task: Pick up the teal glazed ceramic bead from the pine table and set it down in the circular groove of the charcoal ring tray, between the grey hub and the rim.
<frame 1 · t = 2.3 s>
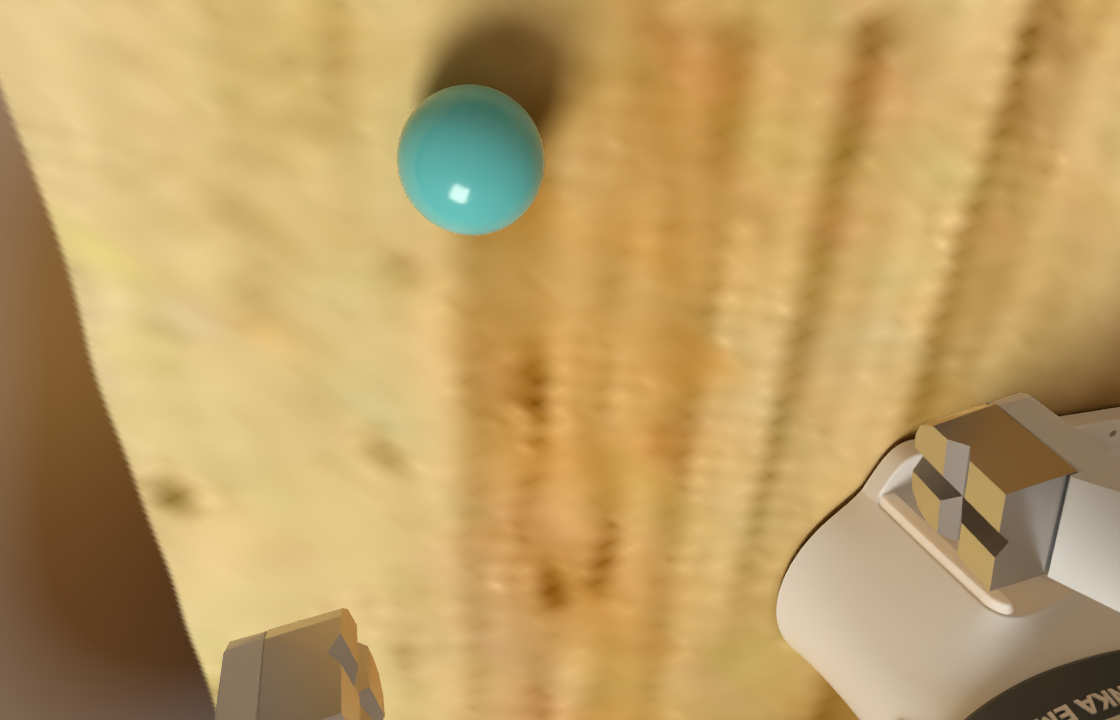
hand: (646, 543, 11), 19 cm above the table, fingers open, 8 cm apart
bead: (471, 161, 25), point 2 cm above the table
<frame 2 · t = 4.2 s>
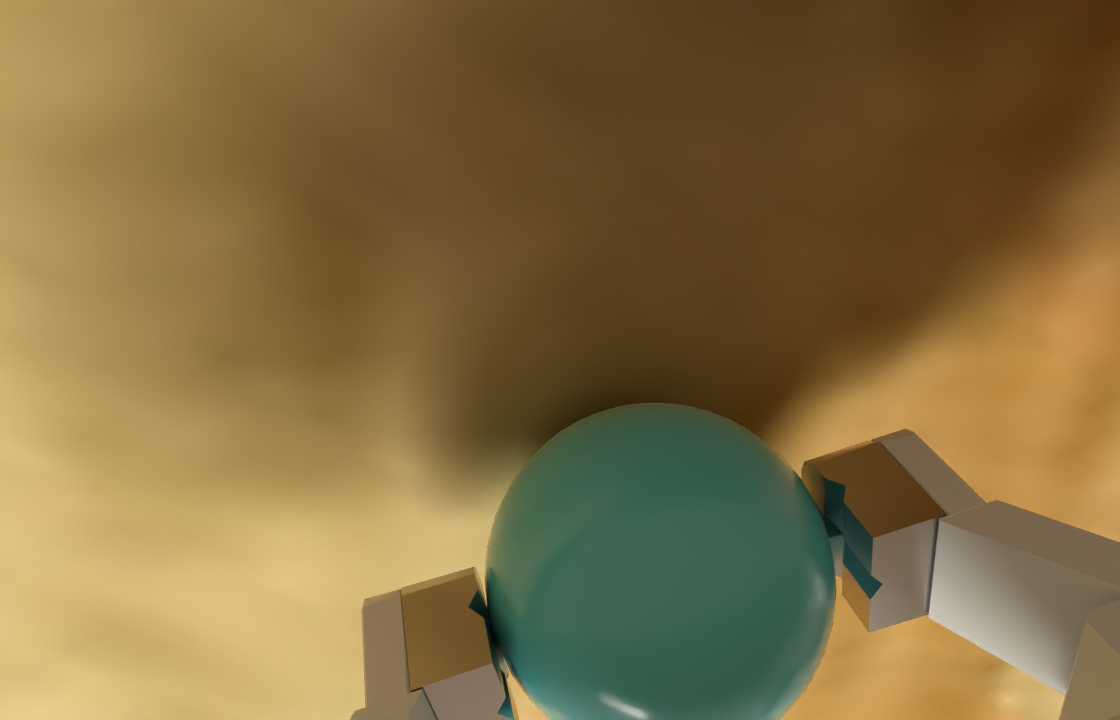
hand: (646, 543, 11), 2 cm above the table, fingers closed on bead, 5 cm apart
bead: (656, 573, 11), point 2 cm above the table, touching gripper
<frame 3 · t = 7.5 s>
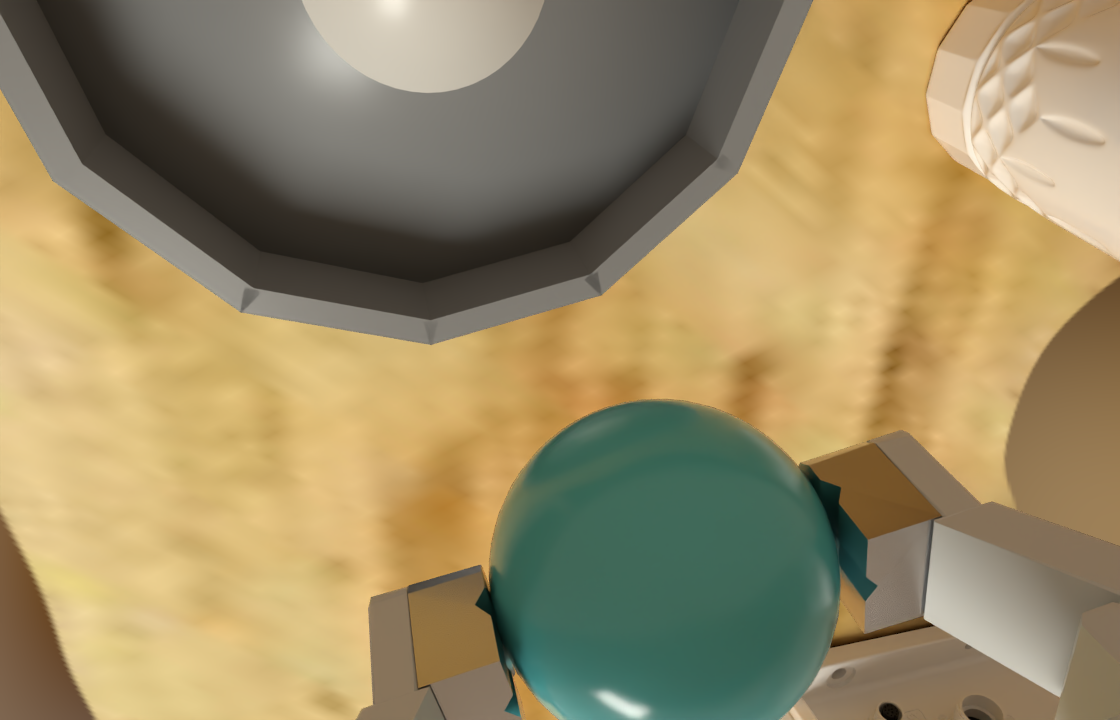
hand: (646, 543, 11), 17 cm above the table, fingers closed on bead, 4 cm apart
bead: (660, 569, 11), point 18 cm above the table, touching gripper
white cup: (1008, 68, 28), on the table
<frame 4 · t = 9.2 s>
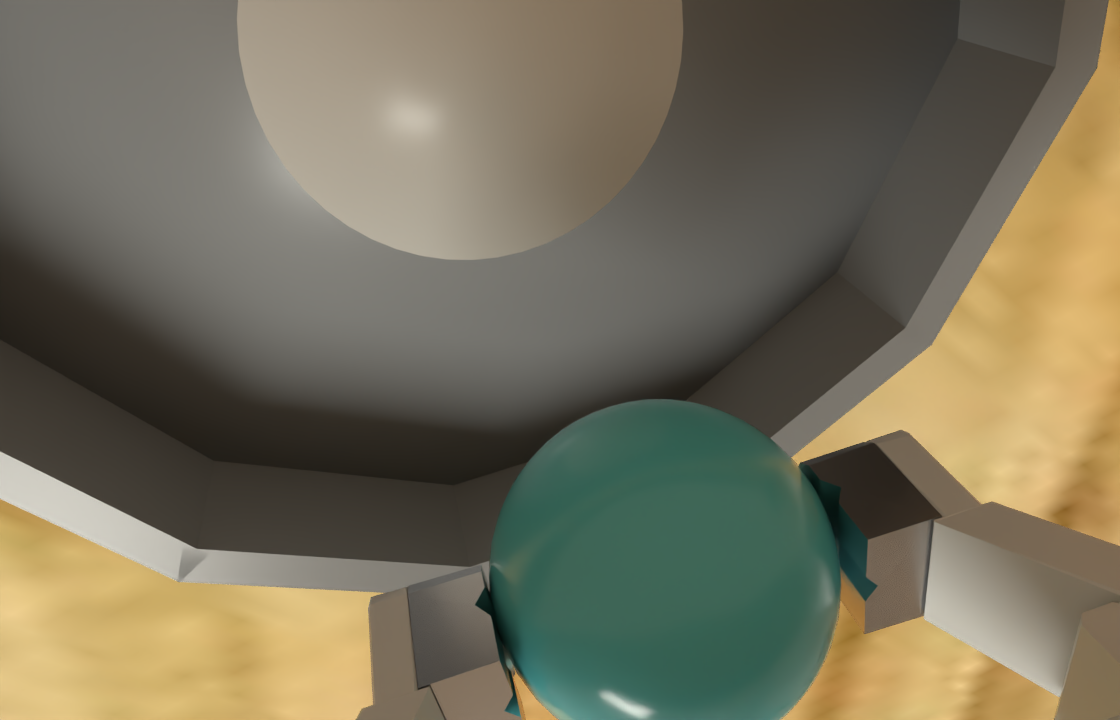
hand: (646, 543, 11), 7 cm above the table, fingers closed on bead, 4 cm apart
ring tray: (443, 14, 14), on the table
bead: (660, 569, 11), point 8 cm above the table, touching gripper
when the fingers open (4 cm above the table, at t = 10.7 s): bead drops 1 cm, resting on ring tray.
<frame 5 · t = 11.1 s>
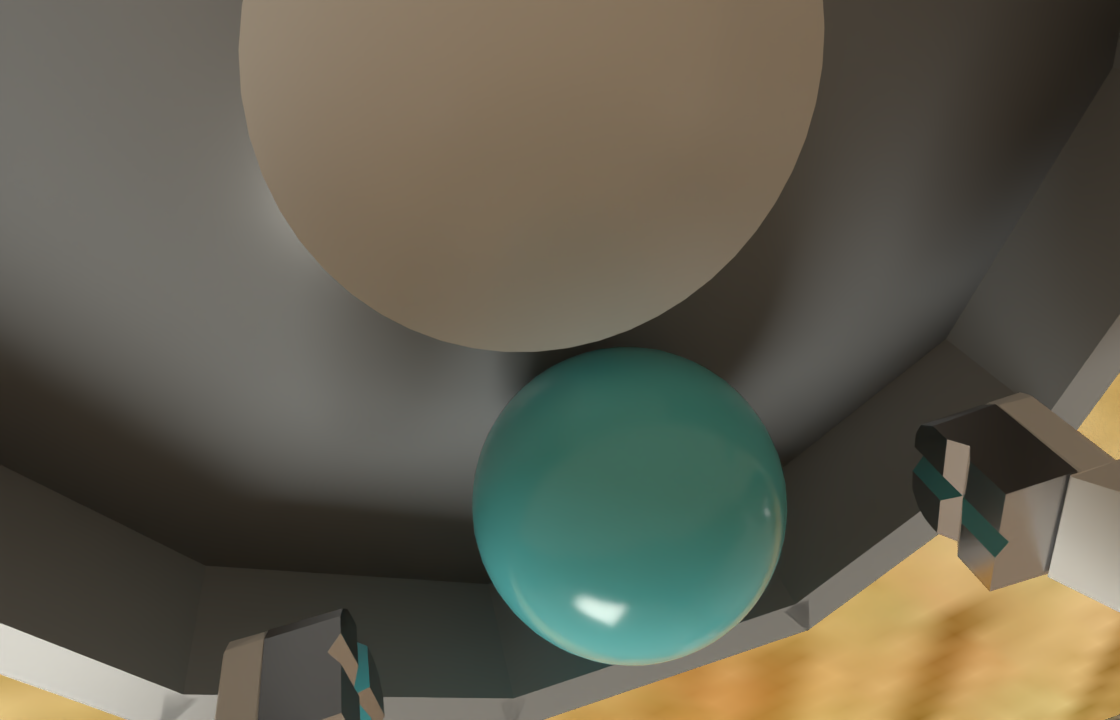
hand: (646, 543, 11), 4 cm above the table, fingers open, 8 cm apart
ring tray: (495, 35, 11), on the table
bead: (627, 500, 12), point 3 cm above the table, touching ring tray
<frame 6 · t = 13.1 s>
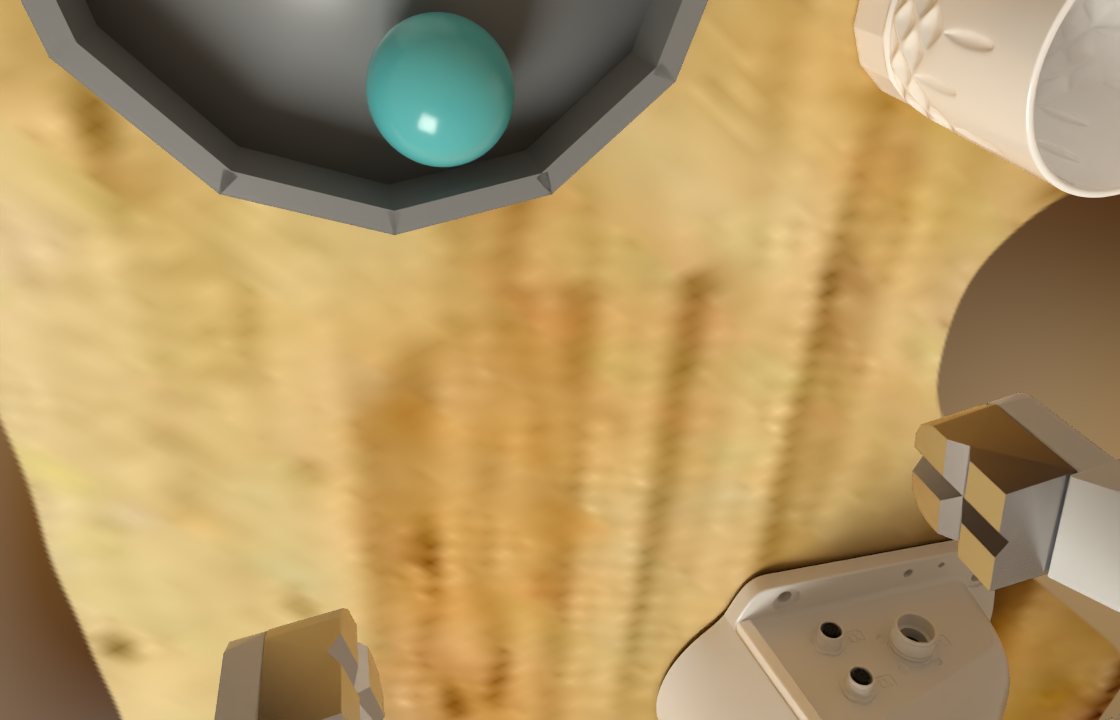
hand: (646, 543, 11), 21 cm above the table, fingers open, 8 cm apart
bead: (441, 91, 25), point 3 cm above the table, touching ring tray
white cup: (929, 5, 31), on the table
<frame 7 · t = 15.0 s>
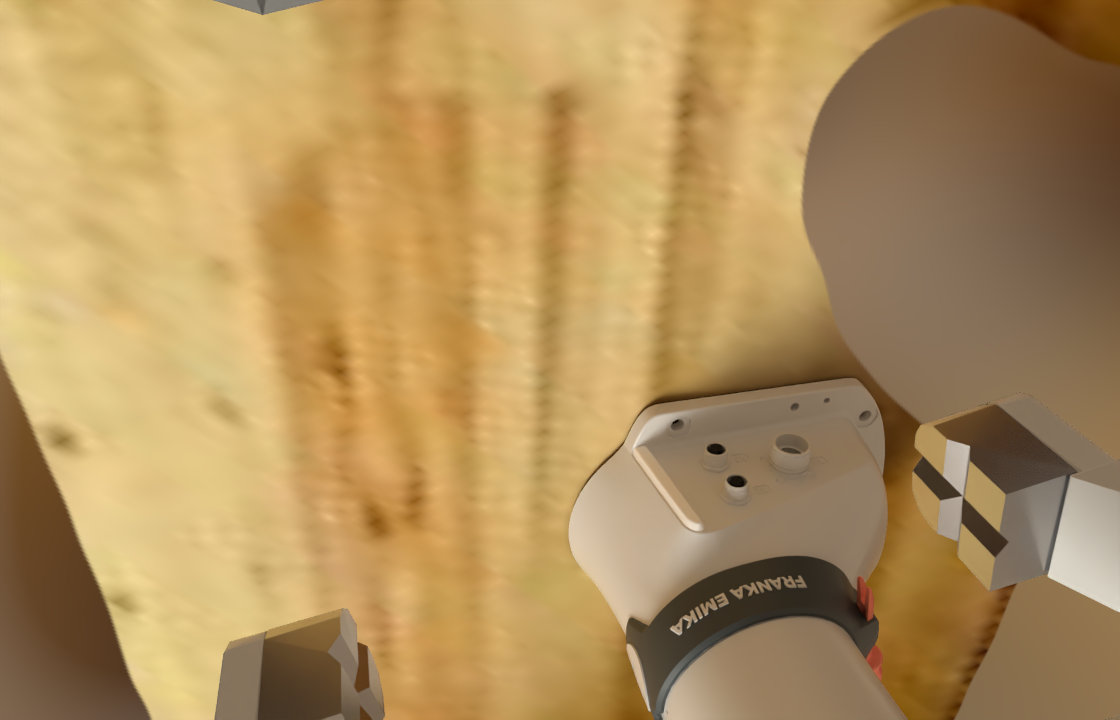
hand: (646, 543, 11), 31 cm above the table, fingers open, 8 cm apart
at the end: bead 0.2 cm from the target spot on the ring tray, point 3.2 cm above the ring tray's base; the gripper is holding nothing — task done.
